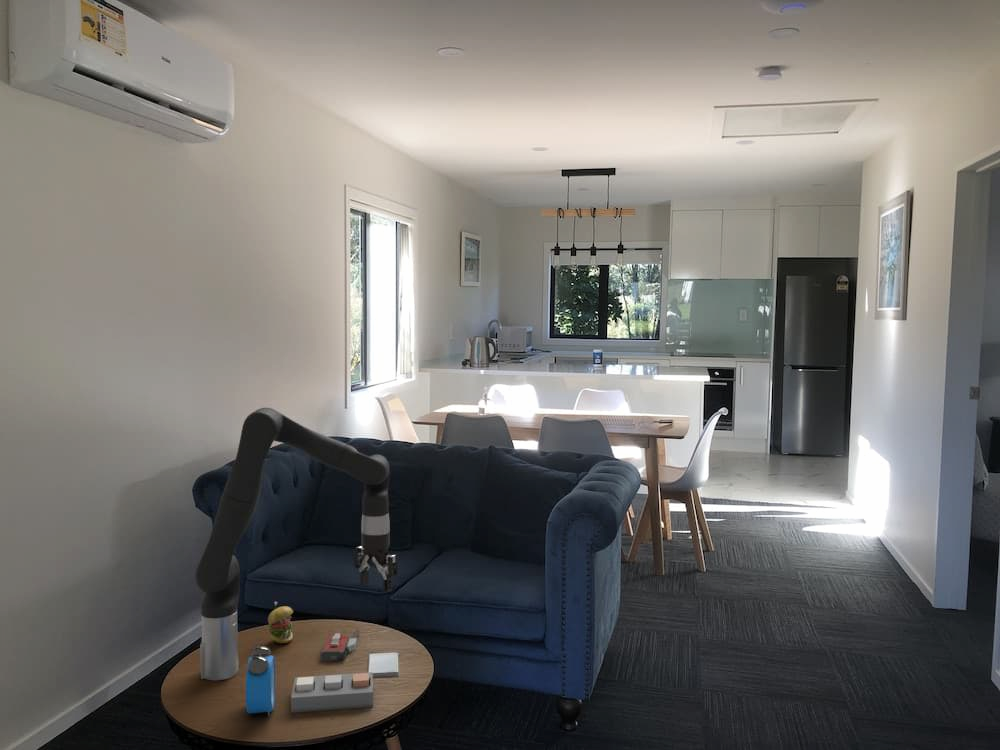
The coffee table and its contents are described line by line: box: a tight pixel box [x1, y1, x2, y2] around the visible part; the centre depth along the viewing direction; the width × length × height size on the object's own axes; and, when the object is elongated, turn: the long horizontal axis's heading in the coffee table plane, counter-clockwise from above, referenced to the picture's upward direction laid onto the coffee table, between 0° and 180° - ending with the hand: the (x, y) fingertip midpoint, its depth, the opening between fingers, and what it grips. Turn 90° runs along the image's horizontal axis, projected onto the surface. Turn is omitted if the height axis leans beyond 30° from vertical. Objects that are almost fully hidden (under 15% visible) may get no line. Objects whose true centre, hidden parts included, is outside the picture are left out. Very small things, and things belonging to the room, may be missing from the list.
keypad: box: [290, 671, 374, 713], centre depth 205 cm, size 20×11×4 cm, turn 99°
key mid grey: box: [325, 674, 342, 690], centre depth 205 cm, size 4×4×3 cm
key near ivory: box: [296, 676, 314, 692], centre depth 204 cm, size 4×4×3 cm
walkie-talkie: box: [320, 629, 360, 662], centre depth 236 cm, size 9×4×20 cm
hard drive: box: [367, 652, 399, 678], centre depth 224 cm, size 2×8×12 cm
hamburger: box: [267, 601, 294, 644], centre depth 240 cm, size 8×7×12 cm
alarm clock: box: [245, 644, 276, 717], centre depth 199 cm, size 13×6×15 cm, turn 11°
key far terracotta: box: [353, 672, 369, 688], centre depth 206 cm, size 4×4×3 cm
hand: (375, 588), depth 217 cm, fingers open, 8 cm apart
